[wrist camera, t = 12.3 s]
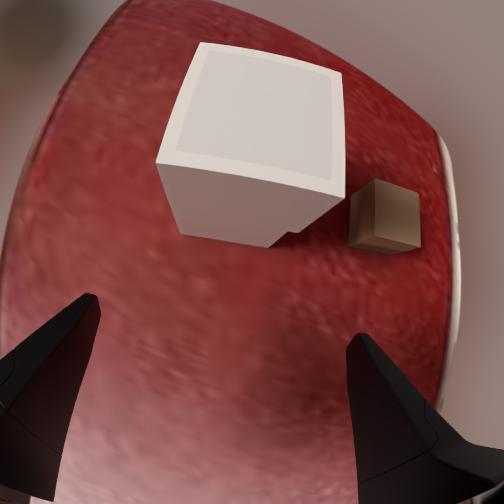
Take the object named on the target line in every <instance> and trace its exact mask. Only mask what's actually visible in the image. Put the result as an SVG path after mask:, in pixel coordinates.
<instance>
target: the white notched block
mask: <svg viewBox="0 0 504 504" xmlns="http://www.w3.org/2000/svg"><path fill="white" fill-rule="evenodd" d="M156 165H157V169H158V172H159V175H160V178H161V181H162V184H163V186H164V189H165V192H166V195H167V198H168V201H169V204H170V207H171V209H172V212H173V215H174V218H175V221H176V223H177V226H178V229H179V231H180V234H185V235H191V236H197V237H203V238H209V239H216V240H222V241H228V242H234V243H240V244H246V245H252V246H258V247H264V248H269V247H270V246H271V245H272V244H273V243H275V242H276V241H277V240H278V239H279V238H281V237H282V236H283V235H284V234H285V233H286V232H288V231H289V232H295V233H299V232H300V231H301V230H303V229H304V228H305V227H307V226H308V225H309V224H311V223H312V222H314V221H315V220H316V219H318V218H319V217H320V216H322V215H323V214H324V213H326V212H327V211H328V210H330V209H331V208H332V207H334V206H335V205H336V204H338V203H339V202H340V201H342V200H343V199H344V198H345V127H344V105H343V89H342V77H341V73H339V72H336V71H333V70H330V69H327V68H324V67H321V66H318V65H314V64H311V63H307V62H304V61H300V60H297V59H293V58H289V57H285V56H280V55H276V54H272V53H267V52H262V51H257V50H252V49H246V48H240V47H234V46H227V45H220V44H211V43H202V42H200V44H199V46H198V49H197V51H196V53H195V55H194V58H193V60H192V62H191V65H190V67H189V69H188V72H187V74H186V77H185V79H184V82H183V84H182V87H181V89H180V92H179V95H178V97H177V100H176V103H175V105H174V108H173V111H172V114H171V117H170V119H169V122H168V125H167V128H166V131H165V134H164V137H163V141H162V144H161V147H160V150H159V153H158V157H157V160H156Z"/></svg>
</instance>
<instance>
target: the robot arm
mask: <svg viewBox="0 0 504 504" xmlns="http://www.w3.org/2000/svg"><path fill="white" fill-rule="evenodd" d="M100 317H101V311H100V306H99V301H98V297H97V296H96V295H94V294H90V293H85V294H83V295H82V296H80V297H79V298H78V299H76V300H75V301H74V302H72V303H71V304H70V305H68V306H67V307H66V308H64V309H63V310H62V311H60V312H59V313H58V314H56V315H55V316H54V317H53V318H51V319H50V320H49V321H47V322H46V323H45V324H44V325H42V326H41V327H40V328H39V329H37V330H36V331H35V332H34V333H32V334H31V335H30V336H29V337H27V338H26V339H25V340H24V341H22V342H21V343H20V344H19V345H18V346H16V347H15V348H14V350H12V351H10V352H9V353H8V354H7V355H6V356H4V357H3V358H2V359H1V360H0V504H30V500H31V496H33V497H36V498H40V499H43V500H47V501H51V502H53V501H54V496H55V489H56V483H57V478H58V472H59V467H60V462H61V457H62V456H61V455H62V452H63V448H64V443H65V439H66V435H67V431H68V427H69V423H70V420H71V416H72V413H73V409H74V406H75V402H76V399H77V396H78V392H79V389H80V386H81V383H82V380H83V377H84V374H85V371H86V368H87V365H88V362H89V359H90V356H91V352H92V348H93V344H94V340H95V336H96V332H97V329H98V325H99V321H100ZM346 364H347V386H348V395H349V403H350V410H351V418H352V427H353V436H354V445H355V456H356V467H357V481H358V500H359V504H504V450H502V449H496V448H489V447H484V446H479V445H475V444H472V443H470V442H468V441H466V440H465V439H464V438H463V437H462V436H461V435H460V434H459V433H458V432H456V431H455V430H454V428H452V427H451V426H450V425H449V424H448V423H447V422H446V421H445V420H444V419H443V418H442V417H441V415H440V414H439V413H438V412H437V411H436V410H435V409H434V408H433V407H432V406H431V404H430V403H429V402H428V401H427V400H426V399H425V398H424V396H423V395H422V394H421V393H420V392H419V391H418V390H417V388H416V387H415V386H414V385H413V384H412V383H411V382H410V380H409V379H408V378H407V377H406V376H405V375H404V374H403V372H402V371H401V370H400V369H399V368H398V367H397V366H396V365H395V363H394V362H393V361H392V360H391V359H390V358H389V357H388V356H387V355H386V353H385V352H384V351H383V350H382V349H381V348H380V347H379V346H378V345H377V344H376V342H375V341H374V340H373V339H372V338H371V337H370V336H369V335H368V334H366V333H357V334H356V335H355V336H354V338H353V339H352V340H351V342H350V343H349V345H348V346H347V349H346Z"/></svg>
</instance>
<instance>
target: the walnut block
mask: <svg viewBox="0 0 504 504" xmlns="http://www.w3.org/2000/svg"><path fill="white" fill-rule="evenodd" d="M348 247H352V248H357V249H362V250H367V251H372V252H377V253H382V254H386V255H391V256H392V255H395V254H399V253H402V252H406V251H409V250H413V249H416V248H420V247H421V237H420V207H419V193H416V192H413V191H411V190H408V189H405V188H403V187H400V186H397V185H394V184H391V183H388V182H385V181H382V180H379V179H376V178H374V179H372V180H371V181H370V182H368V183H367V184H366V185H364V186H363V187H362V188H360V189H359V190H358V191H356V192H355V193H354V194H352V195H351V196H350V224H349V242H348Z"/></svg>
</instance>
